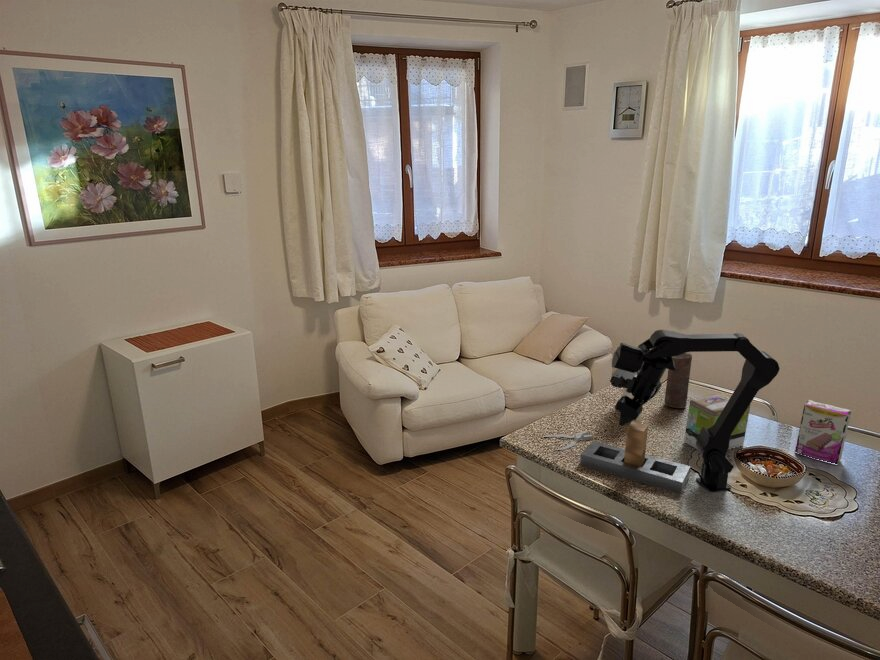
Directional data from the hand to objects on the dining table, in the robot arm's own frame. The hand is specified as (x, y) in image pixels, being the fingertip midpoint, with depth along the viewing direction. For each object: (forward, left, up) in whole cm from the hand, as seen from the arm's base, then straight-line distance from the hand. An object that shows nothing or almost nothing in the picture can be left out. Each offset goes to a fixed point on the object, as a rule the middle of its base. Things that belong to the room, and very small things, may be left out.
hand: (627, 417), depth 164 cm
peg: (-2, -2, -16) cm, 16 cm away
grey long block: (-2, -2, -16) cm, 16 cm away
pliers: (+20, +7, -17) cm, 27 cm away
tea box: (+6, -35, -17) cm, 40 cm away
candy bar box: (-9, -59, -16) cm, 62 cm away
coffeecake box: (+33, -23, -16) cm, 44 cm away
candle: (+34, -41, -16) cm, 56 cm away
